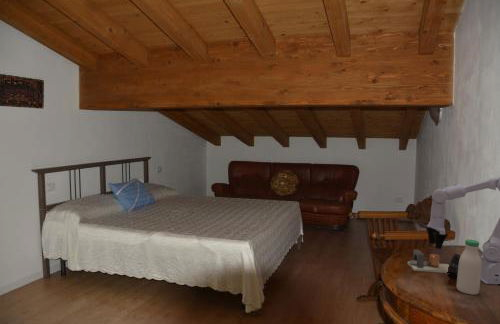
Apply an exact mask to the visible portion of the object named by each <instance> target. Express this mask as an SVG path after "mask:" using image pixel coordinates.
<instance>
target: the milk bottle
mask: <svg viewBox="0 0 500 324" xmlns="http://www.w3.org/2000/svg"><path fill="white" fill-rule="evenodd" d="M464 246H465V248H464V250H463V251H462V253H461V255H460V257H459V261H458V266H457V267H458V268H457V274H456V276H457V277H456V289H457V290H458V291H459V292H460V293H463V294H467V295H471V296H473V295H474V296H475V295H478V294H480V287H481V280H480V278H481V255H480V253H479V247H480V242H479V241H478V240H476V239H465V241H464Z"/></svg>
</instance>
